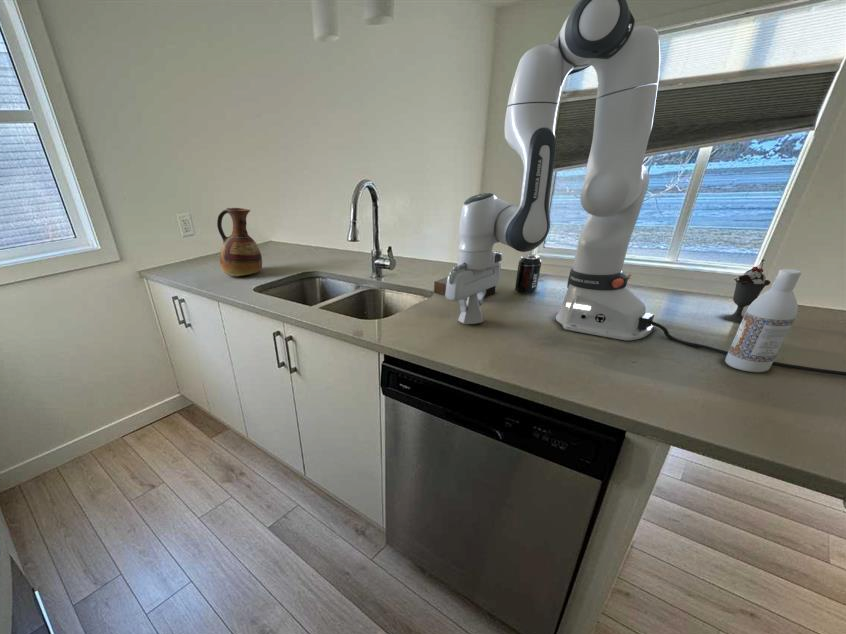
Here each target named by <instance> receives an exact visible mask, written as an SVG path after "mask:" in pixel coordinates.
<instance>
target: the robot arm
mask: <svg viewBox="0 0 846 634" xmlns="http://www.w3.org/2000/svg"><path fill="white" fill-rule="evenodd" d="M635 25H636V20H635V17H634V15H633V14H632V11H631V10H630V7H629V4H628V1H627V0H579V1H578V2H577V3H576V4H575V5H574V7H573V8H572V9H571V12H570V13H569V14H568V16H567V18H566V19H565V20H564V22H563V24H562V27H561V28H560V31H559V32H558V34H557V36H556V37H555V39H554V40H553V41H552V42H549V43H546V44H545V43H544V44H539V45H536V46H533V47H531V48H530V49H529V50H527V51H526V52H525V53H524V54H523V55H522V56H521V57H520V59H519V62H518V64H517V67H516V70H515V73H514V76H513V80H512V84H511V87H510V92H509V95H508V100H507V106H506V112H505V116H504V117H505V118H504V139H505V140H506V142H507V144H508V146H509V147H510V148H511V149H513V150H514V151H515V152H516V153H517V154H518V155H519V157H520V158H521V162H522V164H523V165H522V166H523V177H522V183H521V185H522V186H521V192H520V193H521V195H520V202H519V204H515V203H510V202H507V201H505V200H503V199H500V198H499V197H497V196H496V195H495V194H494V193H491V192H484V193H479V194H475V195H473V196H470V197H469V198H467V199H466V200H465V201H464V202H463V204H462V208H461V211H460V219H459V232H458V233H459V234H458V235H459V237H460V239H459V240H460V241H459V245H458V249H457V251H458V252H457V253H458V254H457V265H454V266H453V267H452V269H451V270H450V272H449V274H448V276H447V277H448V279H447V285H446V293H445V295H444V296H445V299H446V300H447V301H450V302H454V303H457V302H458V304H459V307H460V308H459V311H460V313H461V312H467V311H468V310H469V309H468V308H469V305H467V304H466V301H467V297H469V296H472V295H474V294H477V293H478V294H477V296H478V302H479V306H480V307H481V306H483V301H484V298H485V297H484V296H485V294H486V289H489V288H491V287H494V286H498V284H499V281H500V278H501V277H500V275H501V267H502V266H501V265H502V264H501V262H502V261H503V253H501V252H500V253H497V252H498V251H494V245H495V244H497V243H500V244H502V245H504V246H508V247H510V248H512V249H514V250H515V251H517V252H521V253H527V252H530V251H533V250H536V249H537V248H538V247H540V246H541V245H542V244H543V243H544V241H545V240H546V239H547V237H548V235H549V234H550V233H549V232H550V229H551V214H550V198H551V191H552V182H553V175H554V168H555V161H556V151H557V141H556V140H557V139H556V134H555V131H556V119H557V114H558V113H557V112H558V107H559V104H560V103H559V102H560V99H561V98H560V97H561V93H562V88H563V86H564V83H565V80H566V78H567V77H568V76H570V75H574V74H576V73H579V72H582V71H585V70H587V69H588V68H590V67H592V68H593V69H594V70H595V72H596V76H597V77H596V78H597V89H596V99H595V111H594V121H593V133H592V141H591V146H590V151H589V155H588V159H587V164H586V169H585V174H584V180H583V185H582V189H581V192H580V197H579V198H580V204H581V207H582V208H583V210H584V211H585V212H586V213H587V217H586V219H585V222H584V225H583V229H582V231H581V233H580V235H579V237H578V240H577V246H576V251H575V255H574V260H573V265H572V267H571V268H570V270H569V274H568V279H567V285H566V288H567V290H566V293H565V296H564V299H563V302H562V305H561V307H560V308H559V311H558V312H557V314H556V316H555V320H556V321H557V322H558V324H561V325H562V328H563V329H564V330H566V331H571V332H578V333H584V334H588V335H592V336H593V335H594V336H598V337H604V338H610V339H616V340H621V341H627V342H629V341H636V340H639V339H643V338H645V337H647V336H649V335H650V334H651V333H652V332H653V330H654V327H657V328H658V329H660V330H661V331H663V334H664V335H665V337H666V338H667V339H669V340H671V341H673V342H676V343H678V344H679V343H680V344H683V345H685V346H689V347H694V348H700V349H703V350H707V351H710V352H714V353H719V354H722V355H725V356H727V354H728V352H729V350H724V349H721V348H716V347H712V346H709V345H705V344H700V343H695V342H689V341H685V340H681V339H679V338H677V337H675V336H673V335H671V334H670V333H669V330H668V329H667V328H666V326H664V325H662V324H660V323H658V322H655V321H653V320H654V318H655V314H654V313H650V312H647V309H646V304H645V303H644V302H643V301H642V300H641V299H640V298H638V296H636V295H635V294H634V293H633V292H632V291H631V289H629V288H628V287H627V284H628V281H629V280H631V278H632V277H631V276H632V274H628V275H627V274H626V273H625V271H623V267H624V263H625V260H626V255H627V252H628V248H629V244H630V241H631V237H632V234H633V232H634V230H635V227H636V224H637V222H638V218H639V216H640V213H641V209H642V207H643V203H644V200H645V197H646V194H647V190H648V188H649V184H650V175H649V171H648V170H647V168H646V167H645V166H644V161H645V155H646V152H647V147H648V143H649V139H650V135H651V132H652V129H653V124H654V116H655V109H656V103H657V102H656V100H657V95H658V94H657V93H658V86H659V81H660V79H659V78H660V67H661V47H660V46H661V45H660V35H659V32H658V30H657V29H656V28H655V27H652V26H649V25H638V26H635ZM771 366H774V367H781V368H784V369H785V368H786V369H793V370H799V371H806V372H812V373H820V374H827V375H836V376H843V377H844V376H845V377H846V371H841V370H833V369H825V368H819V367H811V366H804V365H799V364H798V365H797V364H790V363H783V362H778V361H773V363H772V365H771Z"/></svg>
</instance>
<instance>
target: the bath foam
mask: <svg viewBox="0 0 846 634" xmlns="http://www.w3.org/2000/svg"><path fill="white" fill-rule="evenodd" d="M801 275H802V271H801V270H798V269H790V268H784V269H783V268H782V269H779V270H778V274H777V275H776V277H775V279H774V281H773V283H772V286H771V288H770V289H768V290H767V291H765V292H764V293H762V294H760V295H759V296H758V297H757V298H756V299H755V300H754V301H753V302H752V303H751V304H750V305H748V306H747V309H746V310H745V313H744V315H743V320H742V322H740V325H739V326H738V329H737V331H736V334H735V335H734V338H733V340H732V343H731V345H730V347H729V349H728V354H727V355H725V358H724V362H725V363H726V365H728V366H729V367H731V368H733V369H736V370H739V371H743V372H747V373H749V372H750V373H764V372H767V371H769V370H770V368H771V367H772V366H773V365H772V363H773V362H775V359H776V358H777V355H778V354H779V352H780V349H781V348H782V346H783V344H784V341H785V340H786V337H787V336H788V333H789V332H790V330H791V328H792V326H793V324H794V322H795V320H796V318H797V315H798V311H799V306H798V301H797V298H796V296H795V293H794V289H795V287H796V285H797V283H798V281H799V280H800V276H801Z"/></svg>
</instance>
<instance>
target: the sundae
mask: <svg viewBox="0 0 846 634" xmlns="http://www.w3.org/2000/svg"><path fill="white" fill-rule="evenodd" d="M765 261H766V259H761V262H760V264H761V267H760V268H759V266H760V264H758V265H757V266H752V267H751V268H750V269H749V270H746V271H745V272H744V273H743V274H742V275H739V276H738V277H735V278H734V279H733V280H734V282H735V288H734V293H733V297H732V301H733V303H734V304H735V305H736V306H737V307H736V310H735V311H734V313H733V314H727V315H726V314H725V315H724V316H722V318H723V319H724V320H726V321H729V322H732V323H733V322H734V323H741V322H742V320H743V317H744V315H742V313H743V310H744V308H746V307H749V306H750V304H751V303H752V302H753V301H754V300H755V299H756V298H758V297H759V296H760V295H761V293H762V291H763V290H764V288H765V287H767V286H769V285H771V281H770V280H769V279H766V276H765V274H764V273H763V272H764V268H763V267H764V262H765Z"/></svg>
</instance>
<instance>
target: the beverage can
mask: <svg viewBox="0 0 846 634" xmlns="http://www.w3.org/2000/svg"><path fill="white" fill-rule="evenodd" d="M540 258H541V255H538V254H524V255H521V258H520V259H519V260H518V264H517V271H516V278H515V287H514V290H515V291H516V292H517V293H518V294H519V295H532V294H533V293H535V292H537V290H538V285H539V279H540V273H541V267H542V260H541V259H540Z"/></svg>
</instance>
